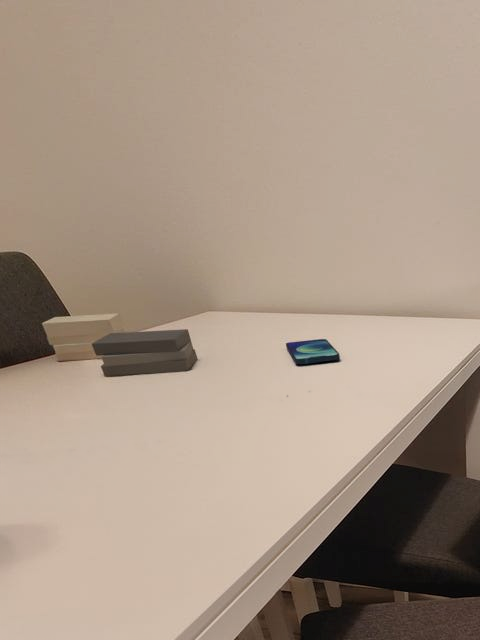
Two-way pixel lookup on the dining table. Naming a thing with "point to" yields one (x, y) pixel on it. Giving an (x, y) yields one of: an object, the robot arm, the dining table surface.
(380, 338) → the dining table surface
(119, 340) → the grey stack
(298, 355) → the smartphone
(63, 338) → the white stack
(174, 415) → the dining table surface
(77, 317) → the beige flat block
